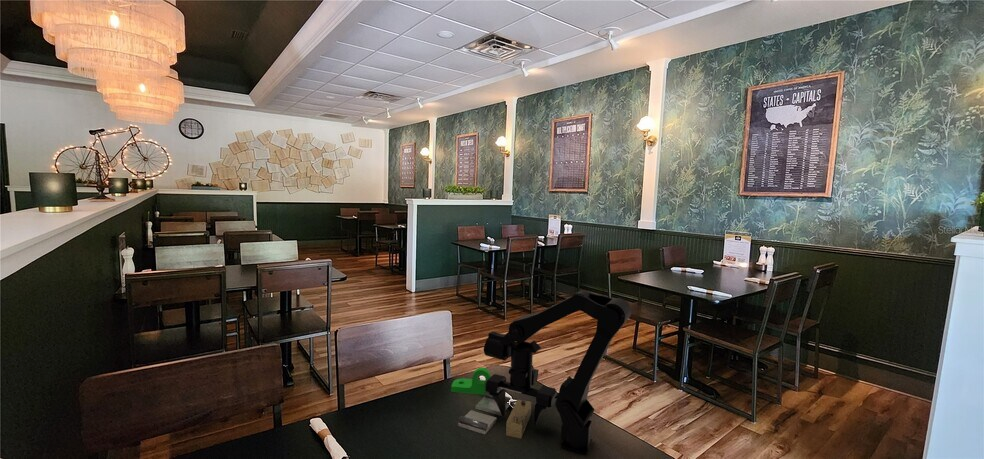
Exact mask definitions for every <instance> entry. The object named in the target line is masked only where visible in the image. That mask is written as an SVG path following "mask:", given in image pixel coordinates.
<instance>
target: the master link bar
mask: <svg viewBox="0 0 984 459" xmlns="http://www.w3.org/2000/svg"><path fill="white" fill-rule="evenodd" d="M531 415H532V401H528V400H525V399H517V400H516V401H515V404H514V406H513V407H512V409H511V412H510V414H509V416H508V418H507V420H506V425H505V426H506V428H505V429H506V430H505V431H506V432H505V435H506V436H507V437H511V438H512V437H513V438H516V439H523V435H524V433H525V430H526V428H527V425H528V423H529V420H530V417H531Z"/></svg>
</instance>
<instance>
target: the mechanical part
mask: <svg viewBox="0 0 984 459" xmlns="http://www.w3.org/2000/svg"><path fill="white" fill-rule="evenodd" d="M479 376H483V377H484V378H485V379H480V378H479ZM491 376H492V375H491V372H490V371H489V370H488V368H487V367H486V368H485V367H481V366H480V367H478V368H476V369H475V370H474V371H473V374H472V378H465V377H464V378H457V379H455V380H454V381H453V382H452V384H451V386H450V392H451V393H460V394H469V395H470V394H471V395H482V396H484V393H485V383H486V381H487V380H488V379H489V378H490V377H491Z"/></svg>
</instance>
